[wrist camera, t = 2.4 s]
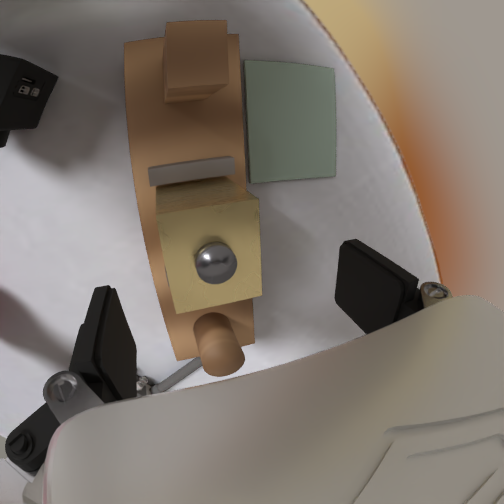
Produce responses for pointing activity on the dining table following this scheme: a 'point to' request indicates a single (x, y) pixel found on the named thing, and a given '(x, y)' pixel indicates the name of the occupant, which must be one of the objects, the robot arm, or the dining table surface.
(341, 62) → the dining table surface
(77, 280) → the dining table surface
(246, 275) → the lever cap
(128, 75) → the plane body
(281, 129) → the felt pad
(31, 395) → the dining table surface
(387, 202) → the dining table surface
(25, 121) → the digital camera
